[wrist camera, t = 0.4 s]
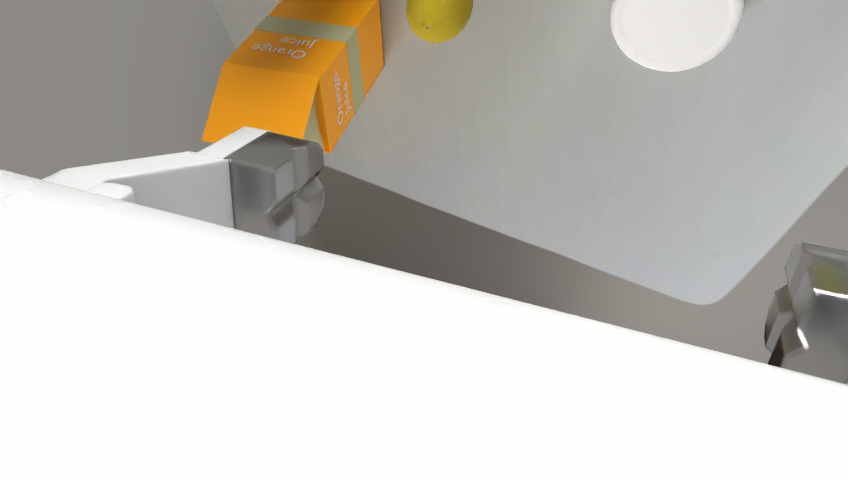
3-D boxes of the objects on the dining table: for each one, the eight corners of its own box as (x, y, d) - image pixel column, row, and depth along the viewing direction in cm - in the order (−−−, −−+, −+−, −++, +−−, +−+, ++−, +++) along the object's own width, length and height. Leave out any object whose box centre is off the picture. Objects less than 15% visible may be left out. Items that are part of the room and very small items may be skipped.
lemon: (457, 25, 64) (433, 70, 59) (411, -15, 63) (382, 28, 57) (494, -17, 60) (472, 27, 55) (446, -60, 59) (418, -19, 53)
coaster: (660, -87, 52) (657, -69, 50) (771, -25, 53) (773, -5, 51) (591, 19, 60) (586, 39, 58) (689, 71, 61) (688, 93, 58)
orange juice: (384, 68, 70) (306, 194, 57) (305, 56, 72) (211, 176, 58) (379, -5, 64) (291, 116, 51) (293, -16, 66) (186, 99, 53)
